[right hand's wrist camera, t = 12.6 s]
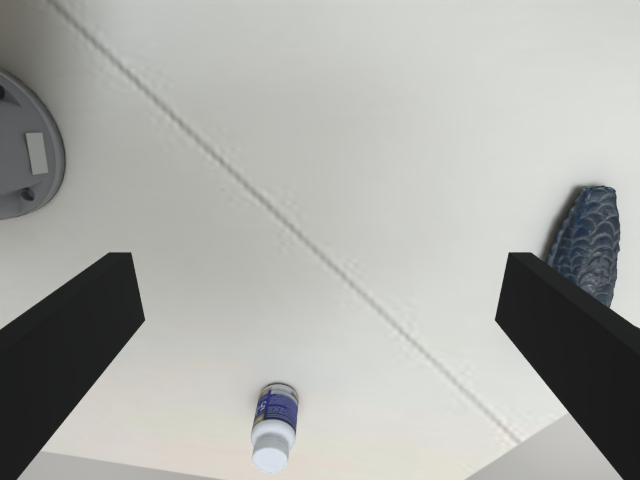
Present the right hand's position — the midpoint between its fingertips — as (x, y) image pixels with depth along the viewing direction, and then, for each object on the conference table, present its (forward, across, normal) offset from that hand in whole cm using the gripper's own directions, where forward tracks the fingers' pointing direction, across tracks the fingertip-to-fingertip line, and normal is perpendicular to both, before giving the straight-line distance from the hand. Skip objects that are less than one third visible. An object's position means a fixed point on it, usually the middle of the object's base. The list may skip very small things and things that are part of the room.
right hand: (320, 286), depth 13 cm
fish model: (+26, -28, +12) cm, 40 cm away
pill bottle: (+26, +6, +31) cm, 40 cm away
